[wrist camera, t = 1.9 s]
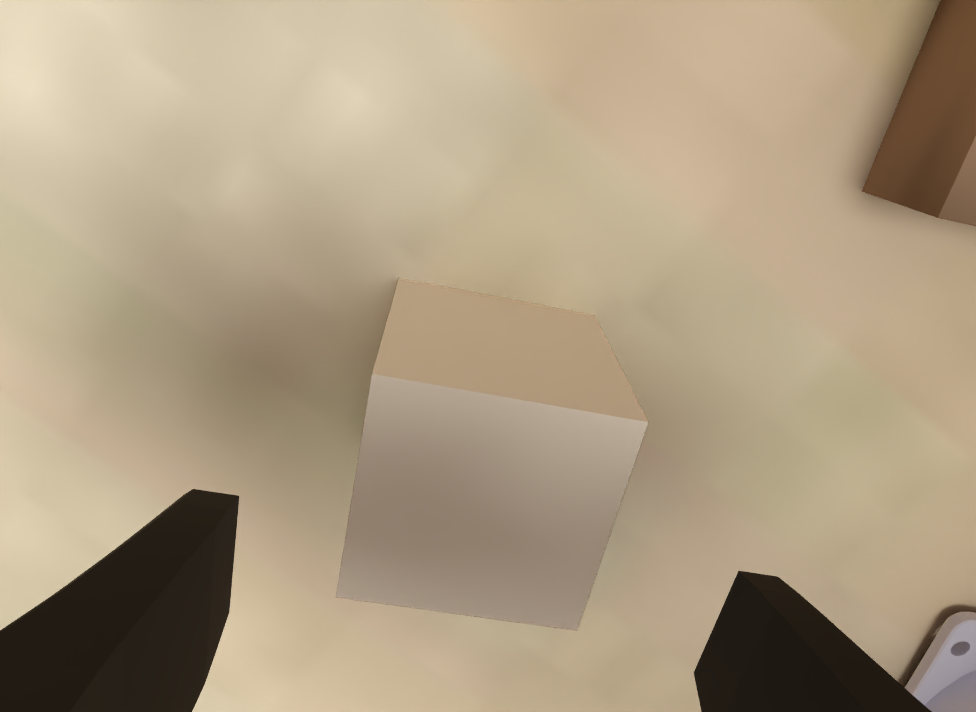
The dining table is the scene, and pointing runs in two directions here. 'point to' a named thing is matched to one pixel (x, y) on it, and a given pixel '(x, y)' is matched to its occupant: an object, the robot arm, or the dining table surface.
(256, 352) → the dining table surface
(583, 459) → the white block
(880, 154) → the walnut block
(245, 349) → the dining table surface
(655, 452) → the dining table surface
